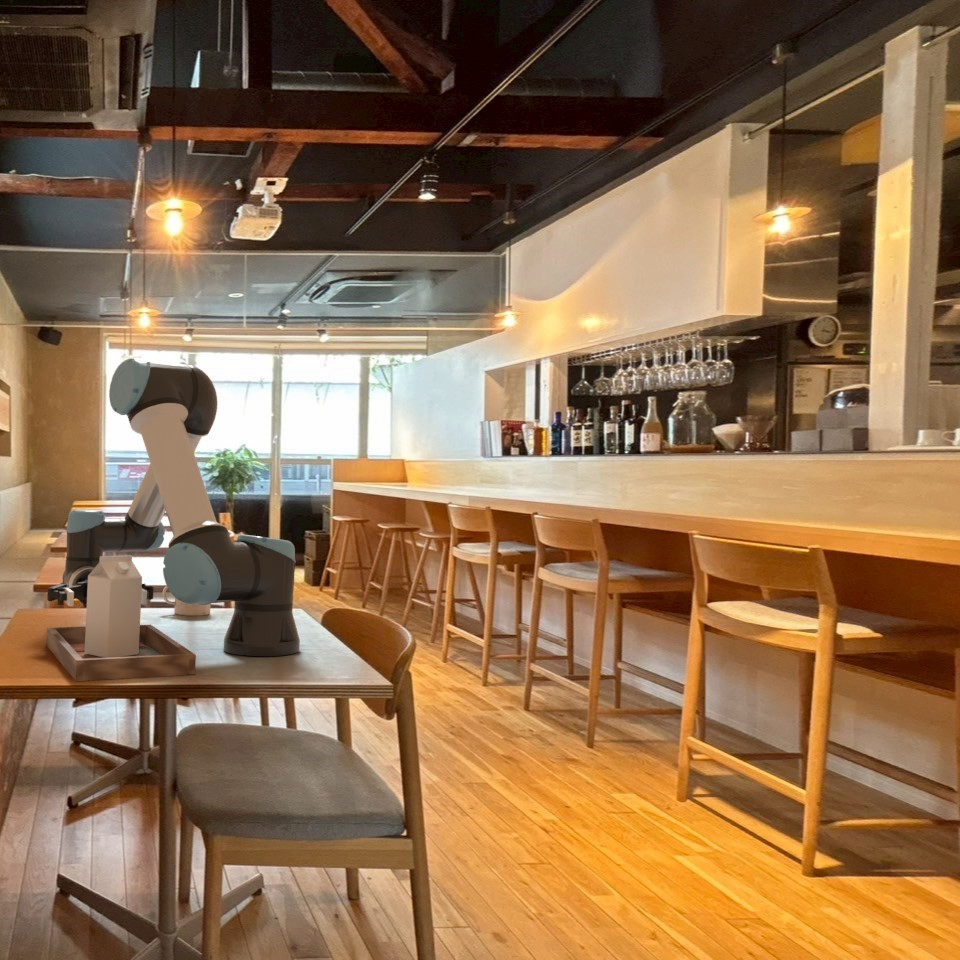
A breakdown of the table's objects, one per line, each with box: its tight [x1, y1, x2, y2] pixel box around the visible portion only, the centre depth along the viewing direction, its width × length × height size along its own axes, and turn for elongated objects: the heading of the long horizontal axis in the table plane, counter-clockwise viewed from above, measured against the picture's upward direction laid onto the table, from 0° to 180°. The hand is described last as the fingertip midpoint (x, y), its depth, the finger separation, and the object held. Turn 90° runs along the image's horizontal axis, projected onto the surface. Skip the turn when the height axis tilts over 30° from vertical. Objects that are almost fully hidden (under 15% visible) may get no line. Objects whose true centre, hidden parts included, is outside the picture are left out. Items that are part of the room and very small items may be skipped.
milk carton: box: [84, 554, 143, 658], centre depth 197 cm, size 7×7×19 cm
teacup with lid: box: [161, 585, 212, 617], centre depth 255 cm, size 12×9×12 cm
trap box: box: [46, 624, 197, 682], centre depth 193 cm, size 20×36×4 cm, turn 30°
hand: (108, 598), depth 200 cm, fingers open, 13 cm apart
